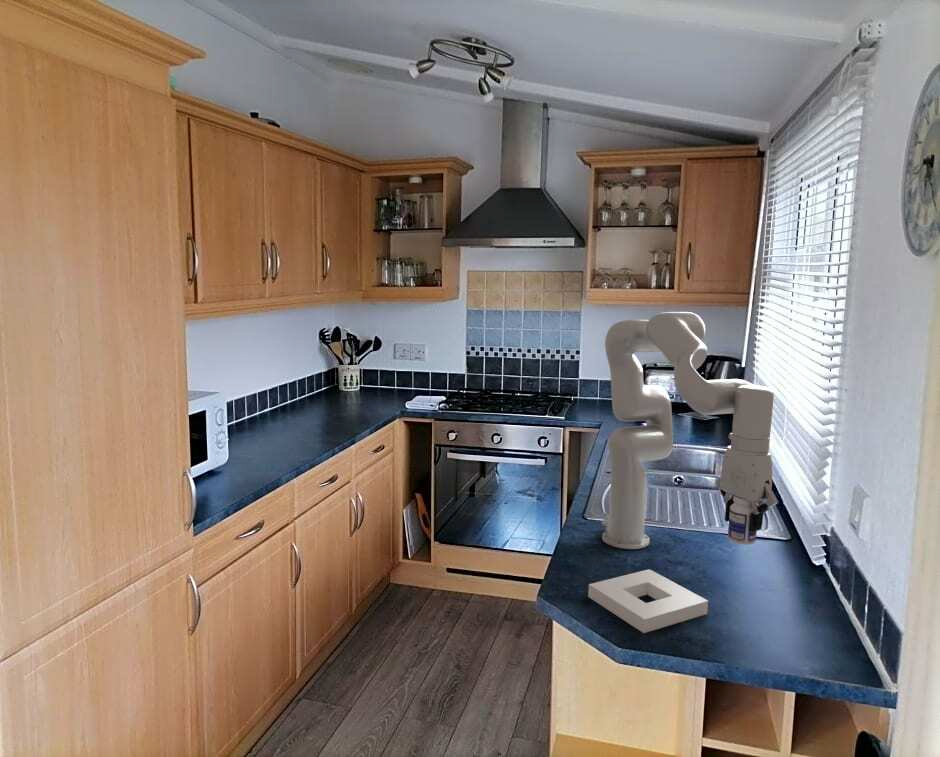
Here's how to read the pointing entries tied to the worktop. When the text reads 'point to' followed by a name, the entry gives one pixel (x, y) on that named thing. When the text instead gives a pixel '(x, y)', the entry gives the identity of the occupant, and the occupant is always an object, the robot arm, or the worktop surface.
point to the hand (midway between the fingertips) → (742, 524)
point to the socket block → (649, 616)
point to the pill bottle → (740, 522)
